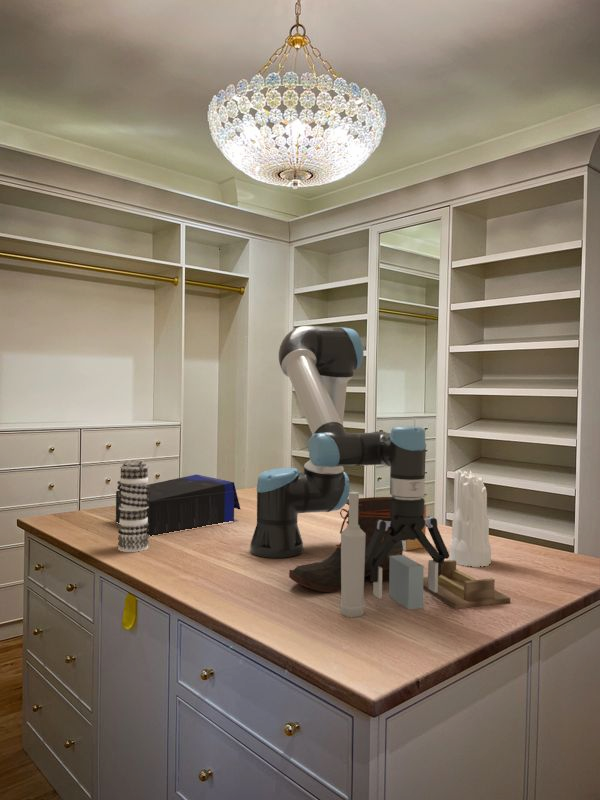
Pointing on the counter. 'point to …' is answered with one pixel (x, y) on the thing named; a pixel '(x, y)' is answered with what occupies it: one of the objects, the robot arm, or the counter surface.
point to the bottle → (352, 563)
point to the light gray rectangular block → (406, 581)
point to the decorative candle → (133, 507)
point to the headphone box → (188, 503)
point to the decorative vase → (470, 522)
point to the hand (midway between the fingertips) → (405, 593)
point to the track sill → (464, 588)
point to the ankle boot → (329, 570)
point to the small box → (414, 543)
